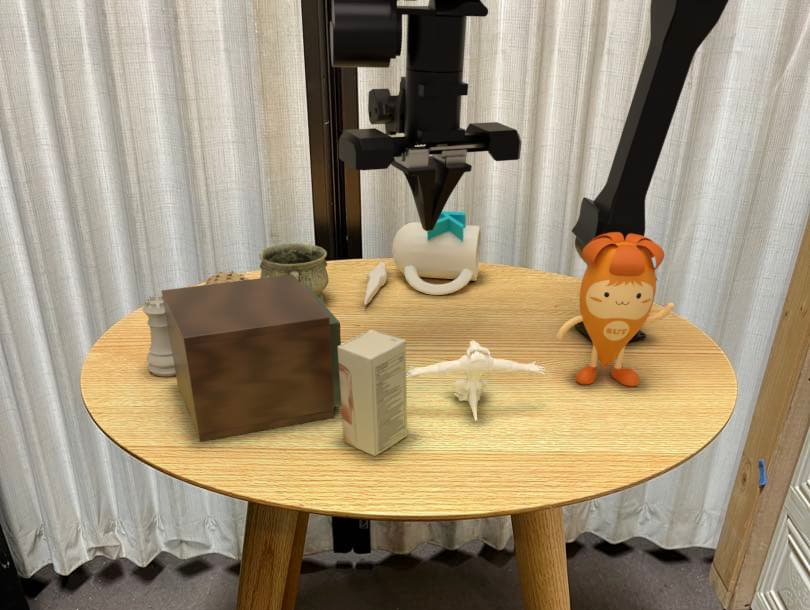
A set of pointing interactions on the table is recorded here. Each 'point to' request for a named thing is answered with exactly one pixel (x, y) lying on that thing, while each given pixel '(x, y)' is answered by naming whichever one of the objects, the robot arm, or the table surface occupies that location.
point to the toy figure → (616, 299)
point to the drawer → (334, 346)
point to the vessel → (297, 264)
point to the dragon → (473, 372)
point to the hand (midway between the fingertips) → (427, 229)
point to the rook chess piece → (159, 338)
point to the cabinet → (250, 355)
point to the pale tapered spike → (375, 281)
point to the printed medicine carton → (373, 391)
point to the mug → (439, 253)
